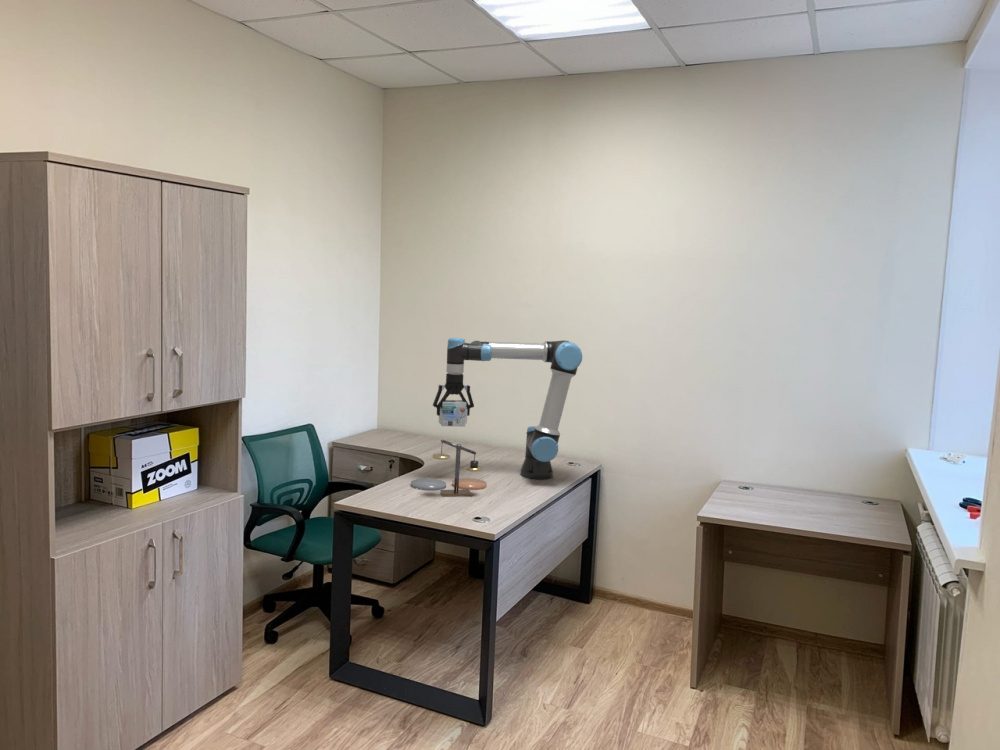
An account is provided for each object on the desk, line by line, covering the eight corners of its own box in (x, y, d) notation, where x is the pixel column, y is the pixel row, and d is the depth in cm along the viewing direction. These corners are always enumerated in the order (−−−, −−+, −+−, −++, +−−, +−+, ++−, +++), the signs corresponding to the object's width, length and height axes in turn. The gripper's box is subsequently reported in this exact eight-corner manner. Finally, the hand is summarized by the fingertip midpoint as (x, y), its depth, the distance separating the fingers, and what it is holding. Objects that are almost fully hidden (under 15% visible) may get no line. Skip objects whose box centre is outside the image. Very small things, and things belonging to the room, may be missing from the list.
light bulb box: (441, 426, 334) (442, 402, 332) (439, 423, 340) (440, 399, 339) (465, 426, 336) (467, 402, 335) (462, 423, 343) (464, 400, 342)
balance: (478, 491, 324) (481, 437, 321) (482, 496, 317) (485, 441, 314) (429, 492, 318) (432, 437, 315) (432, 497, 311) (435, 441, 309)
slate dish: (442, 481, 338) (442, 478, 337) (449, 490, 323) (449, 487, 323) (408, 481, 333) (408, 478, 333) (413, 490, 319) (414, 487, 319)
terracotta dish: (481, 480, 342) (482, 477, 342) (490, 489, 328) (490, 486, 328) (448, 480, 338) (449, 478, 338) (456, 490, 324) (456, 487, 324)
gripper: (478, 372, 342) (476, 421, 345) (427, 371, 336) (425, 421, 339) (482, 374, 335) (480, 424, 337) (430, 373, 329) (428, 424, 332)
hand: (452, 422), depth 338 cm, fingers closed on light bulb box, 11 cm apart
